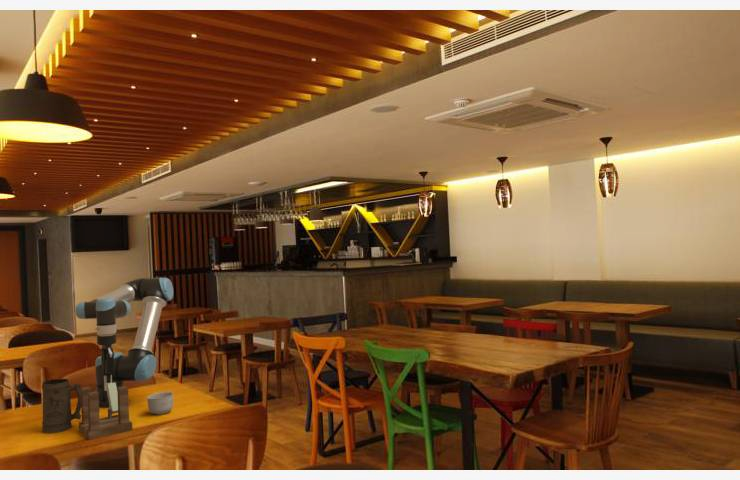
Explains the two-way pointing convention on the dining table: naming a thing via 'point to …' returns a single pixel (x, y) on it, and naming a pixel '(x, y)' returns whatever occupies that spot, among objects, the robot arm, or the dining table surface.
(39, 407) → the dining table surface
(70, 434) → the dining table surface
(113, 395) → the hinged leg
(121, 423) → the wooden stand
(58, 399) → the beer stein
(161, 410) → the teacup
